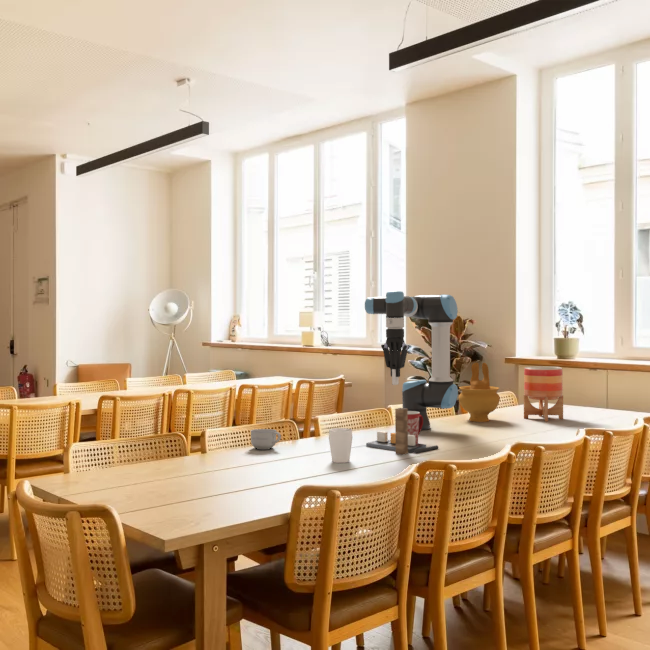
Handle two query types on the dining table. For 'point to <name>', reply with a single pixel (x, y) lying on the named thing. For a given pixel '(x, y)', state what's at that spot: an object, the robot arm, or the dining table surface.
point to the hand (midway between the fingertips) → (395, 384)
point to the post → (401, 430)
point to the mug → (414, 424)
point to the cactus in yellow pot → (479, 395)
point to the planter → (543, 390)
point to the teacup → (264, 438)
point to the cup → (340, 444)
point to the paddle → (382, 436)
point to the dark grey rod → (426, 449)
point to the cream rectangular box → (411, 440)
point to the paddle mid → (393, 438)
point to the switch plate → (392, 445)
